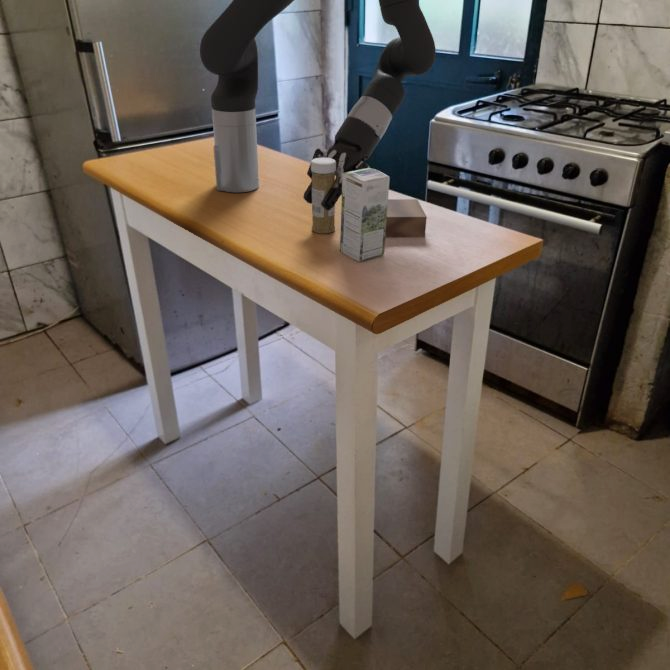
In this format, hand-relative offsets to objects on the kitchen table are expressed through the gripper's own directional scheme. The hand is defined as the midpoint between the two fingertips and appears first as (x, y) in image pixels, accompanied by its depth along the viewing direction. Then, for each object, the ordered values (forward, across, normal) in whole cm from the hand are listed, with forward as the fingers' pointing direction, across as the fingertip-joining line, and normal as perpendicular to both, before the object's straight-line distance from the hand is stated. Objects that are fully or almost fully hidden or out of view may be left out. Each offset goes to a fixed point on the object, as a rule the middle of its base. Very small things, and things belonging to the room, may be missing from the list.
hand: (316, 204), depth 117 cm
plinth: (-5, +8, +13) cm, 17 cm away
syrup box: (+5, +13, +4) cm, 14 cm away
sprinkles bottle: (+3, 0, +6) cm, 6 cm away
